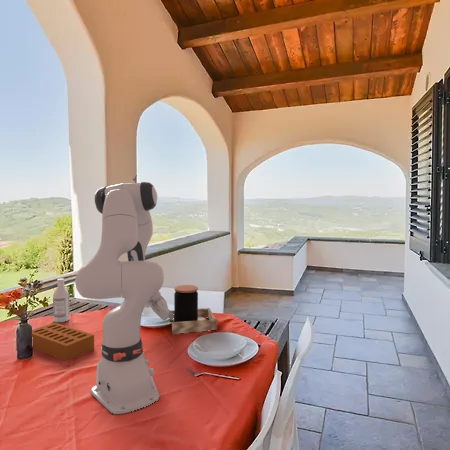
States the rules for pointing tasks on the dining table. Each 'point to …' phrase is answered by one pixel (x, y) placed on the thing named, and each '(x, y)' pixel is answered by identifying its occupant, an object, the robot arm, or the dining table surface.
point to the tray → (195, 323)
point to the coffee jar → (185, 303)
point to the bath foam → (61, 303)
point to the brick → (62, 341)
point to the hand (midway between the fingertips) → (173, 317)
